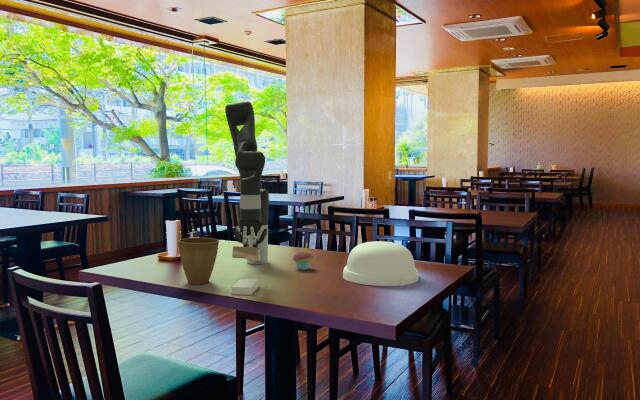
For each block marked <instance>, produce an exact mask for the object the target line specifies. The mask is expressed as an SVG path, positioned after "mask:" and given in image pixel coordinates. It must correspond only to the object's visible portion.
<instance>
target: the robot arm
mask: <svg viewBox="0 0 640 400" xmlns="http://www.w3.org/2000/svg"><path fill="white" fill-rule="evenodd" d="M224 111H225V113H224V114H225V118H226V122H227V125H228V129H229V132H230V136H231V139H232V144H233V151H234V156H235V160H234V165H235V167H236V169H237V170H238V174H239V178H240V197H239V224H238V225H237V226H234V227H233V228H232V232H233V234H234V236H235V238H236V241H237V243H239V244H242V245H243V246H242V247H258V248H259V250H261V256H260V261H255V260H249V259H246V260H247V261H246V263H247V264H249V265H264V264H268V262H269V257H268V256H269V244H268V243H269V230H270V229H269V208H270V207H269V206H270V195H269V190H267V189H266V188H261V182H262V181H261V180H262V176H263V173H264V172H263V171H264V168H265V165H266V156H265V155H264V153H263V152H262V151H258V143H257V139H256V121H255V117H256V116H255V111H254V108H253V105H252V103H251V101H248V100H246V101H245V100H243V101H238V102H232V103H231V102H230V103H227V104H226V105H225V109H224ZM240 126H242V127H241V128H240V130H239V128H238V127H240ZM241 232H242V233H241Z"/></svg>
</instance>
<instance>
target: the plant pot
mask: <svg viewBox="0 0 640 400" xmlns="http://www.w3.org/2000/svg"><path fill="white" fill-rule="evenodd" d="M177 243H178V251H179V256H180V261H181V265H182V269H183V272H184V275H185V277H186V280H187V282H188V284H190V285H205V284H208V283H209V281H210V278H211V276H212V273H213V270H214V267H215V263H216V260H217V256H218V250H219V243H220V240H219V239H217V238H212V237H188V238H180V239H178V242H177Z"/></svg>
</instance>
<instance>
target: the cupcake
mask: <svg viewBox="0 0 640 400" xmlns="http://www.w3.org/2000/svg"><path fill="white" fill-rule="evenodd" d="M308 242H309V241H308V240H307V241H306V243H305V247H304V251H301V252H296V253H295V254H293V258H292V261H293V262H295V264H296V267H297V270H303V271H304V270H305V269H306V270H309V269H310V266H311V263H312V262H313V261H314V256H313V255H312V254H311V253H310V252H307V251H308V250H307V249H308Z"/></svg>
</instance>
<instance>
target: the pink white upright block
mask: <svg viewBox="0 0 640 400" xmlns="http://www.w3.org/2000/svg"><path fill="white" fill-rule="evenodd" d="M259 286H260V280H259V279H246V278H243V279H242V278H241V279H238V280H237V281H236V282H235V283H234V284H233V285H232V286H231V289H230V290H231V293H230V294H231V295H253V294H254V293H255V291H257V289H258V288H259Z"/></svg>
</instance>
